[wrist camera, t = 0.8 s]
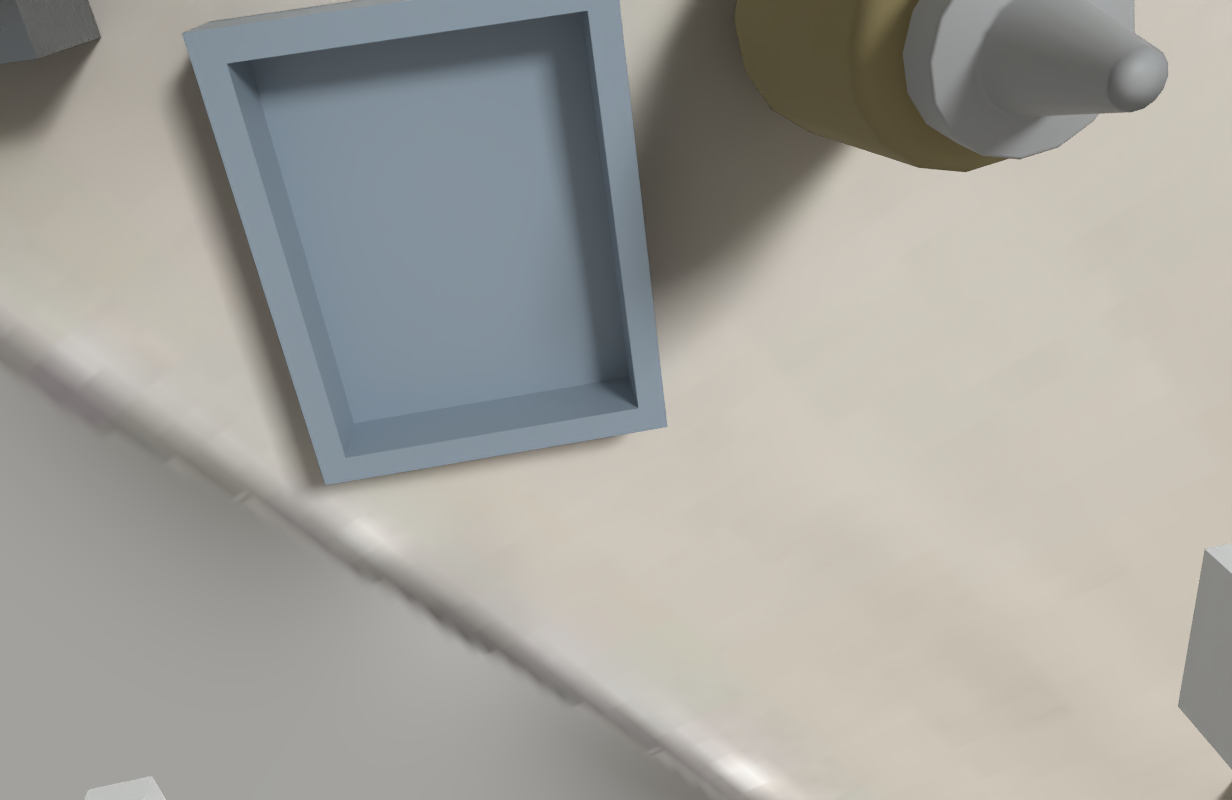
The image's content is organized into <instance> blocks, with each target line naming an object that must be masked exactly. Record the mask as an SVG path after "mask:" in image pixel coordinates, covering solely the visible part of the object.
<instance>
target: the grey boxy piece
mask: <svg viewBox="0 0 1232 800" xmlns="http://www.w3.org/2000/svg"><path fill="white" fill-rule="evenodd" d="M100 37H101V36H100V33H99V30H98V27H97V25H96V22H95V19H94V16H93V13H92V11H91V8H90V5H89V2H88V0H0V64H5V63H12V62H19V61H26V60H33V59H39V58H42V57H45V56H47V55H50V54H53V53H56V52H59V51H62V50H65V49H68V48H71V47H74V46H77V45H80V44H83V43H86V42H89V41H92V40H94V39H97V38H100Z"/></svg>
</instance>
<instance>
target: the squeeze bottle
mask: <svg viewBox="0 0 1232 800" xmlns="http://www.w3.org/2000/svg"><path fill="white" fill-rule="evenodd" d="M734 21H735V26H736V31H737V36H738V41H739V46H740V51H741V55H742V60H743V65H744V70H745V71H746V73H747V74H748V76H749V77H750V79H751V80H752V82H753V83H754V85H755V86H756V87H757V89H758V90H759V92H760V93H761V95H762V96H763V98H764V99H765V101H766V102H767V103H768V105H769V106H770V108H771V109H772V110H773V111H775V112H777V113H779V114H780V115H782V116H784V117H785V118H787V119H789V120H790V121H792V122H794V123H795V124H797V125H799V126H801V127H802V128H804V129H806V130H807V131H809V132H811V133H814V134H817V135H820V136H823V137H826V138H829V139H832V140H835V141H839V142H842V143H845V144H848V145H851V146H854V147H857V148H860V149H863V150H866V151H869V152H872V153H875V154H879V155H882V156H885V157H888V158H891V159H894V160H897V161H900V162H903V163H906V164H909V165H912V166H915V167H919V168H928V169H938V170H949V171H960V172H967V171H971V170H974V169H977V168H980V167H983V166H987V165H990V164H993V163H996V162H999V161H1003V160H1006V159H1009V158H1011V159H1022V158H1026V157H1029V156H1032V155H1035V154H1038V153H1042V152H1045V151H1048V150H1051V149H1054V148H1057V147H1059V146H1061V145H1062V144H1063V143H1065V142H1066V141H1067V140H1069V139H1070V138H1071V137H1073V136H1074V135H1075V134H1077V133H1078V132H1079V131H1081V130H1082V129H1083V128H1085V127H1086V126H1087V125H1089V124H1090V123H1091V122H1093V121H1094V119H1095V118H1096V117H1097V115H1098V114H1101V113H1123V112H1134V111H1137V110H1140V109H1143V108H1145V107H1146V106H1148V105H1149V104H1150V103H1152V102H1153V101H1154V100H1155V99H1156V98H1157V97H1158V95H1159V94H1160V93H1161V91H1162V90H1163V88H1164V86H1165V83H1166V80H1167V77H1168V62H1167V60H1166V58H1165V56H1164V53H1163V52H1161V51H1160V50H1159V49H1157V48H1156V47H1155V46H1153V45H1152V44H1150V43H1149V42H1147V41H1146V40H1144V39H1143V38H1141V37H1140V36H1138V35H1137V34H1135V22H1134V0H737V4H736V10H735V16H734Z"/></svg>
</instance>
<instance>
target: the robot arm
mask: <svg viewBox="0 0 1232 800" xmlns="http://www.w3.org/2000/svg"><path fill="white" fill-rule="evenodd" d="M1178 707H1179V708H1180V709H1181V710H1182V711H1183V713H1184V714H1185V715H1186V716H1187V717H1188V718H1189V720H1190V721H1191V722H1192V723H1193V724H1194V726H1195V727H1196V728H1197V729H1198V730H1199V731H1200V733H1201V734H1202V735H1203V736H1204V737H1205V738H1206V740H1207V741H1208V742H1209V743H1210V744H1211V745H1212V747H1213V748H1214V749H1215V750H1216V751H1217V753H1218V754H1219V755H1220V756H1221V757H1222V758H1223V760H1224V761H1225V762H1226V763H1227V764H1228V765H1229V767H1230V768H1231V769H1232V543H1230V544H1226V545H1221V546H1216V547H1212V548H1207V549H1205V551H1204V557H1203V563H1202V568H1201V574H1200V580H1199V586H1198V592H1197V598H1196V604H1195V609H1194V615H1193V621H1192V627H1191V633H1190V639H1189V644H1188V650H1187V656H1186V662H1185V668H1184V674H1183V680H1182V685H1181V691H1180V697H1179V703H1178ZM84 800H166V799H165V797H164V795H163V794H162V792H161V790H160V788H159V787H158V785H157V783H156V782H155V780H154V779H153V777H152V776H149V777H144V778H139V779H135V780H130V781H126V782H121V783H116V784H111V785H107V786H102V787H98V788H93V789H89V790H88V791H87V794H86V796H85V798H84Z"/></svg>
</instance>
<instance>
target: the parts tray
mask: <svg viewBox="0 0 1232 800" xmlns="http://www.w3.org/2000/svg"><path fill="white" fill-rule="evenodd" d="M182 35H183V38H184V41H185V44H186V47H187V51H188V54H189V57H190V60H191V63H192V66H193V69H194V73H195V76H196V79H197V82H198V85H199V88H200V92H201V95H202V98H203V101H204V104H205V107H206V110H207V114H208V117H209V120H210V123H211V126H212V129H213V132H214V136H215V139H216V142H217V145H218V148H219V151H220V155H221V158H222V161H223V164H224V167H225V170H226V173H227V177H228V180H229V183H230V186H231V189H232V192H233V195H234V199H235V202H236V205H237V208H238V211H239V214H240V218H241V221H242V224H243V227H244V230H245V233H246V236H247V240H248V243H249V246H250V249H251V252H252V255H253V258H254V262H255V265H256V268H257V271H258V274H259V277H260V281H261V284H262V287H263V290H264V293H265V296H266V299H267V303H268V306H269V309H270V312H271V315H272V318H273V321H274V325H275V328H276V331H277V334H278V337H279V340H280V344H281V347H282V350H283V353H284V356H285V359H286V362H287V366H288V369H289V372H290V375H291V378H292V381H293V384H294V388H295V391H296V394H297V397H298V400H299V403H300V407H301V410H302V413H303V416H304V419H305V422H306V425H307V429H308V432H309V435H310V438H311V441H312V444H313V448H314V451H315V454H316V457H317V460H318V463H319V466H320V470H321V473H322V476H323V479H324V482H325V485H330V484H336V483H342V482H348V481H353V480H359V479H365V478H371V477H377V476H383V475H389V474H394V473H400V472H406V471H412V470H418V469H424V468H429V467H435V466H441V465H447V464H453V463H459V462H465V461H470V460H476V459H482V458H488V457H494V456H500V455H505V454H511V453H517V452H523V451H529V450H535V449H541V448H546V447H552V446H558V445H564V444H570V443H576V442H581V441H587V440H593V439H599V438H605V437H611V436H617V435H622V434H628V433H634V432H640V431H646V430H652V429H657V428H663V427H667V420H666V411H665V402H664V393H663V384H662V376H661V367H660V358H659V349H658V340H657V331H656V322H655V314H654V305H653V296H652V287H651V278H650V269H649V260H648V252H647V243H646V234H645V225H644V216H643V207H642V198H641V189H640V181H639V172H638V163H637V154H636V145H635V136H634V127H633V119H632V110H631V101H630V92H629V83H628V74H627V65H626V57H625V48H624V39H623V30H622V21H621V12H620V3H619V0H356V1H349V2H342V3H335V4H329V5H322V6H315V7H308V8H301V9H294V10H287V11H280V12H273V13H266V14H259V15H252V16H245V17H238V18H231V19H224V20H217V21H211V22H208V23H205V24H203V25H201V26H198V27H196V28H193V29H191V30H189V31H186V32H184V33H182Z"/></svg>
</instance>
